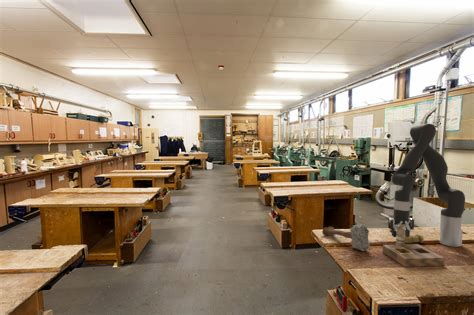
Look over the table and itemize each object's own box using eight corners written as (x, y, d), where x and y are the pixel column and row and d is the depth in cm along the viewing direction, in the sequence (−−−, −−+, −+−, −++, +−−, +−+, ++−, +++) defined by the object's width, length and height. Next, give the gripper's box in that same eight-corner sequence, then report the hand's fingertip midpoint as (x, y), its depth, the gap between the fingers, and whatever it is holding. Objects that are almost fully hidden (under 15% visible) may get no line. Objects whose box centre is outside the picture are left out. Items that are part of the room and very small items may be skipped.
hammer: (334, 237, 159) (376, 248, 132) (323, 243, 155) (364, 255, 128) (328, 216, 159) (369, 222, 132) (317, 221, 155) (357, 229, 128)
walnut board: (417, 251, 132) (417, 243, 132) (443, 265, 116) (444, 257, 116) (382, 252, 131) (383, 244, 130) (404, 266, 115) (405, 258, 115)
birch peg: (401, 245, 139) (401, 222, 138) (406, 249, 134) (407, 224, 134) (394, 246, 138) (394, 222, 138) (399, 249, 134) (400, 225, 134)
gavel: (383, 227, 162) (396, 226, 163) (383, 233, 162) (396, 233, 163) (408, 236, 141) (423, 236, 143) (409, 244, 141) (424, 243, 143)
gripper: (408, 206, 139) (407, 234, 140) (385, 206, 139) (384, 234, 140) (419, 210, 132) (417, 239, 133) (394, 210, 131) (393, 239, 132)
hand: (400, 236), depth 136 cm, fingers open, 7 cm apart
